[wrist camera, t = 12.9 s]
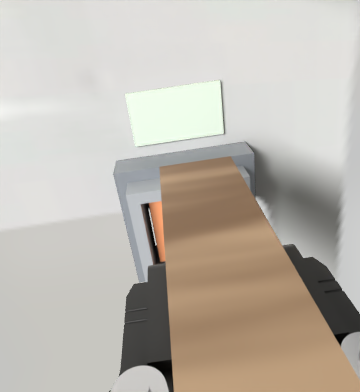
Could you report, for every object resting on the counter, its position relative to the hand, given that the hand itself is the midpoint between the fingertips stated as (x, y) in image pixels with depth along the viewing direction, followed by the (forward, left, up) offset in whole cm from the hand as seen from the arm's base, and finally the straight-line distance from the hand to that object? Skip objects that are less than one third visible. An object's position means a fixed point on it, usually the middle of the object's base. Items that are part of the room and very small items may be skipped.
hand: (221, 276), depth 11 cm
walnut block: (0, 0, -6) cm, 6 cm away
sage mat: (0, 0, -21) cm, 21 cm away
